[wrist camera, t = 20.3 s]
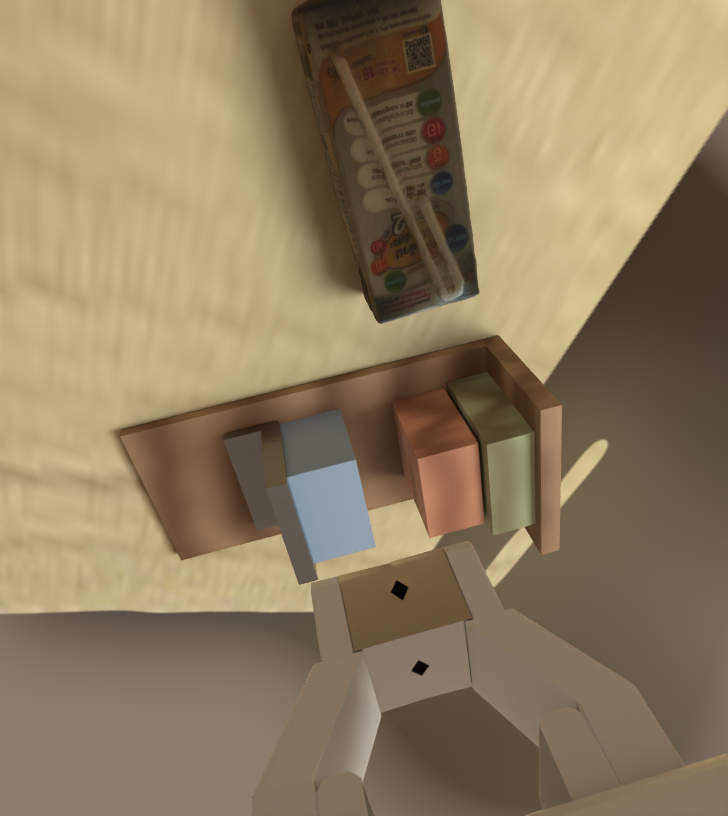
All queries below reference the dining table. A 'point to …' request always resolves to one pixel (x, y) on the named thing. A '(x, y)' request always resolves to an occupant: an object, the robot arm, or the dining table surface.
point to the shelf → (379, 448)
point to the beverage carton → (392, 147)
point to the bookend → (270, 490)
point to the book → (326, 485)
